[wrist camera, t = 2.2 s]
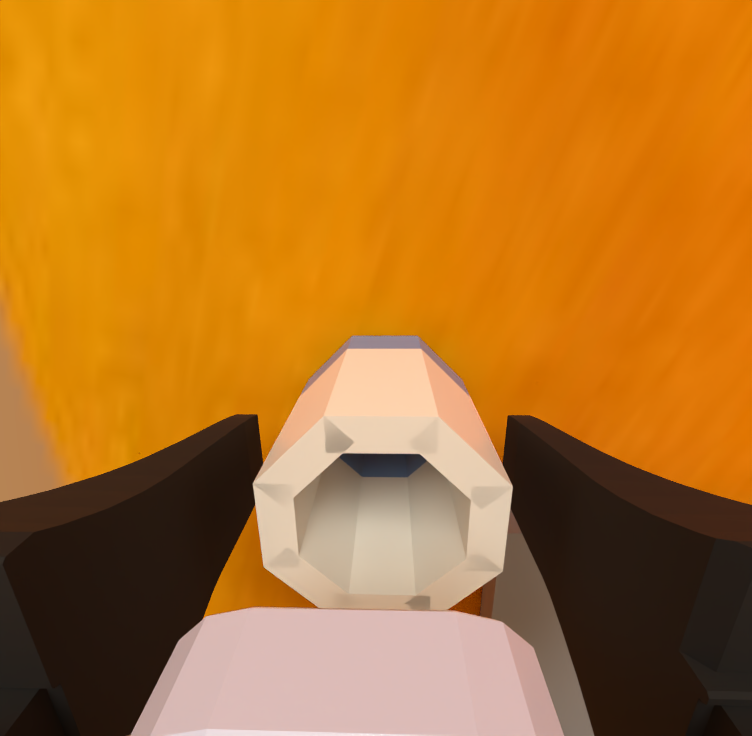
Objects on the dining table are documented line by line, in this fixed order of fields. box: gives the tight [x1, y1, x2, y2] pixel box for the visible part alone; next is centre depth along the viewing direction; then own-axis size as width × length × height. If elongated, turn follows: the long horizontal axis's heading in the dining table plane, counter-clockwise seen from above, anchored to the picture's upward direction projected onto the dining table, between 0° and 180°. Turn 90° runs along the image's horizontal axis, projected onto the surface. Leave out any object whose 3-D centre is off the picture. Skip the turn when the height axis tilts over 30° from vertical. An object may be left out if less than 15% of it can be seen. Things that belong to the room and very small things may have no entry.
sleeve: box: [253, 336, 513, 610], centre depth 11 cm, size 5×5×6 cm
